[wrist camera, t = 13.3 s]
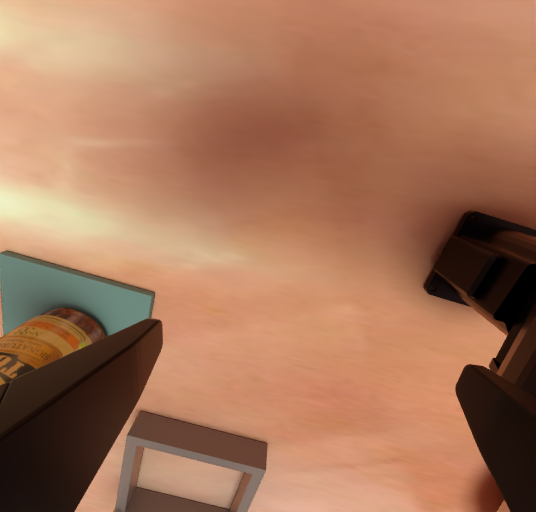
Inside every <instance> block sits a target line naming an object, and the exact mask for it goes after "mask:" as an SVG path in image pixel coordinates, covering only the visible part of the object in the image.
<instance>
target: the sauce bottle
mask: <svg viewBox="0 0 536 512" xmlns="http://www.w3.org/2000/svg"><path fill="white" fill-rule="evenodd" d="M105 337H106V336H105V333H104V330H103V329H102V327H100V325H99V324H98V323H97V322H96V321H95V320H94V319H92V318H91V317H89V316H88V315H86V314H85V313H83V312H81V311H78V310H76V309H71V308H59V309H55V310H51V311H48V312H46V313H43V314H41V315H39V316H36V317H33V318H32V319H30V320H28V321H27V322H25V323H23V324H22V325H20V326H19V327H17V328H15V329H14V330H12V331H11V332H9V333H7V334H6V335H4V336H3V337H1V338H0V385H2V384H4V383H6V382H11V381H12V380H13V379H15V378H17V377H19V376H22V375H24V374H26V373H28V372H30V371H33V370H35V369H37V368H39V367H41V366H44V365H46V364H48V363H50V362H52V361H55V360H57V359H59V358H61V357H63V356H65V355H68V354H70V353H72V352H74V351H76V350H79V349H81V348H83V347H85V346H87V345H90V344H92V343H94V342H96V341H98V340H101V339H103V338H105Z"/></svg>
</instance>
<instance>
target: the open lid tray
mask: <svg viewBox="0 0 536 512" xmlns="http://www.w3.org/2000/svg"><path fill="white" fill-rule="evenodd" d="M144 447H146V448H150V449H154V450H158V451H162V452H166V453H170V454H174V455H178V456H182V457H186V458H190V459H194V460H197V461H201V462H205V463H209V464H213V465H217V466H221V467H225V468H229V469H233V470H237V471H241V472H245V474H244V476H243V478H242V481H241V483H240V486H239V488H238V491H237V493H236V496H235V498H234V500H233V503H232V505H231V508H230V510H228V509H224V508H220V507H216V506H212V505H207V504H203V503H199V502H195V501H191V500H187V499H183V498H179V497H175V496H170V495H166V494H162V493H158V492H154V491H150V490H146V489H142V488H137V487H136V485H137V480H138V475H139V470H140V465H141V459H142V454H143V449H144ZM266 459H267V443H263V442H259V441H256V440H252V439H248V438H244V437H240V436H236V435H232V434H228V433H225V432H221V431H217V430H213V429H209V428H205V427H201V426H197V425H194V424H190V423H186V422H182V421H178V420H174V419H170V418H166V417H163V416H159V415H155V414H151V413H147V412H143V411H140V413H139V414H138V416H137V418H136V420H135V422H134V423H133V425H132V427H131V429H130V431H129V433H128V434H127V438H126V445H125V451H124V457H123V464H122V470H121V476H120V482H119V489H118V495H117V501H116V507H115V509H114V511H113V512H247V511H248V509H249V507H250V504H251V502H252V500H253V498H254V496H255V493H256V491H257V489H258V487H259V484H260V482H261V480H262V478H263V476H264V473H265V471H266Z"/></svg>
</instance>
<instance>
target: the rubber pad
mask: <svg viewBox="0 0 536 512" xmlns="http://www.w3.org/2000/svg"><path fill="white" fill-rule="evenodd" d="M0 283H1V300H2V317H3V333H4V335H6V334H7V333H9V332H11V331H12V330H14V329H15V328H17V327H19V326H20V325H22V324H23V323H25V322H27V321H28V320H30V319H32V318H33V317H36V316H39V315H41V314H43V313H46V312H48V311H51V310H55V309H59V308H71V309H76V310H78V311H81V312H83V313H85V314H86V315H88V316H89V317H91V318H92V319H94V320H95V321H96V322H97V323H98V324H99V325H100V327H102V329H103V330H104V333H105V336H106V337H107V336H109V335H111V334H114V333H116V332H118V331H120V330H122V329H125V328H127V327H129V326H131V325H133V324H136V323H138V322H140V321H142V320H144V319H147V318H151V314H152V308H153V302H154V296H155V293H154V292H151V291H147V290H143V289H140V288H136V287H133V286H129V285H126V284H122V283H119V282H115V281H112V280H108V279H104V278H101V277H97V276H94V275H90V274H87V273H83V272H80V271H76V270H73V269H69V268H65V267H62V266H58V265H55V264H51V263H48V262H44V261H41V260H37V259H34V258H30V257H26V256H23V255H19V254H16V253H12V252H9V251H4V252H1V253H0Z"/></svg>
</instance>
